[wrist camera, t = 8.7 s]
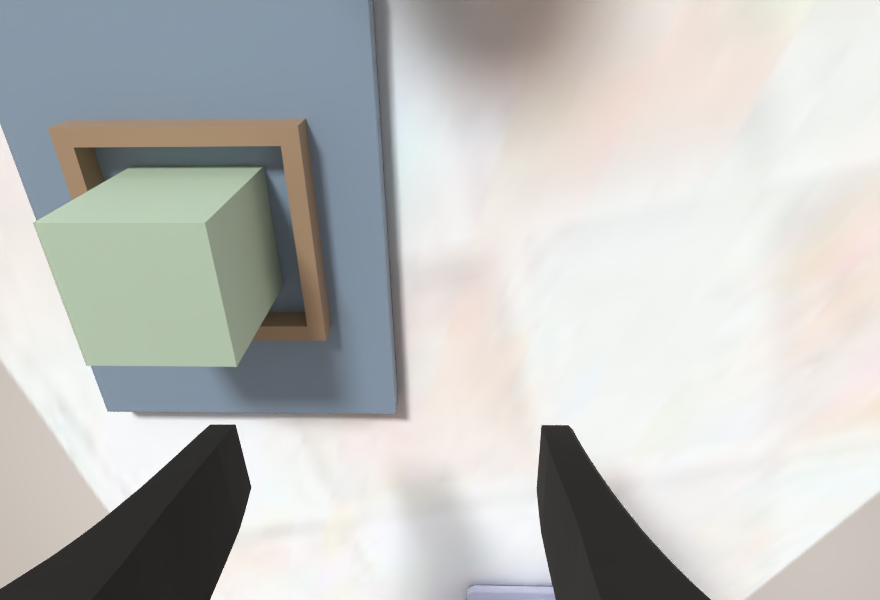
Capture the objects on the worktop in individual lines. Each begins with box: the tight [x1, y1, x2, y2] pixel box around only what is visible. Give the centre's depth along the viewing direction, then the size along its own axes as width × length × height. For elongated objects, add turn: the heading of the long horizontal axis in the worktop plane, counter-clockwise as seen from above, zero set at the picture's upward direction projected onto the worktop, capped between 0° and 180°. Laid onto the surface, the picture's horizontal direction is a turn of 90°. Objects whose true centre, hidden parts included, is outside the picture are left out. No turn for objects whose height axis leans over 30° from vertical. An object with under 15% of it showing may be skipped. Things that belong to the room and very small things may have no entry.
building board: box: [0, 0, 398, 414], centre depth 20 cm, size 16×12×2 cm
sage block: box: [33, 166, 283, 367], centre depth 18 cm, size 4×4×5 cm
